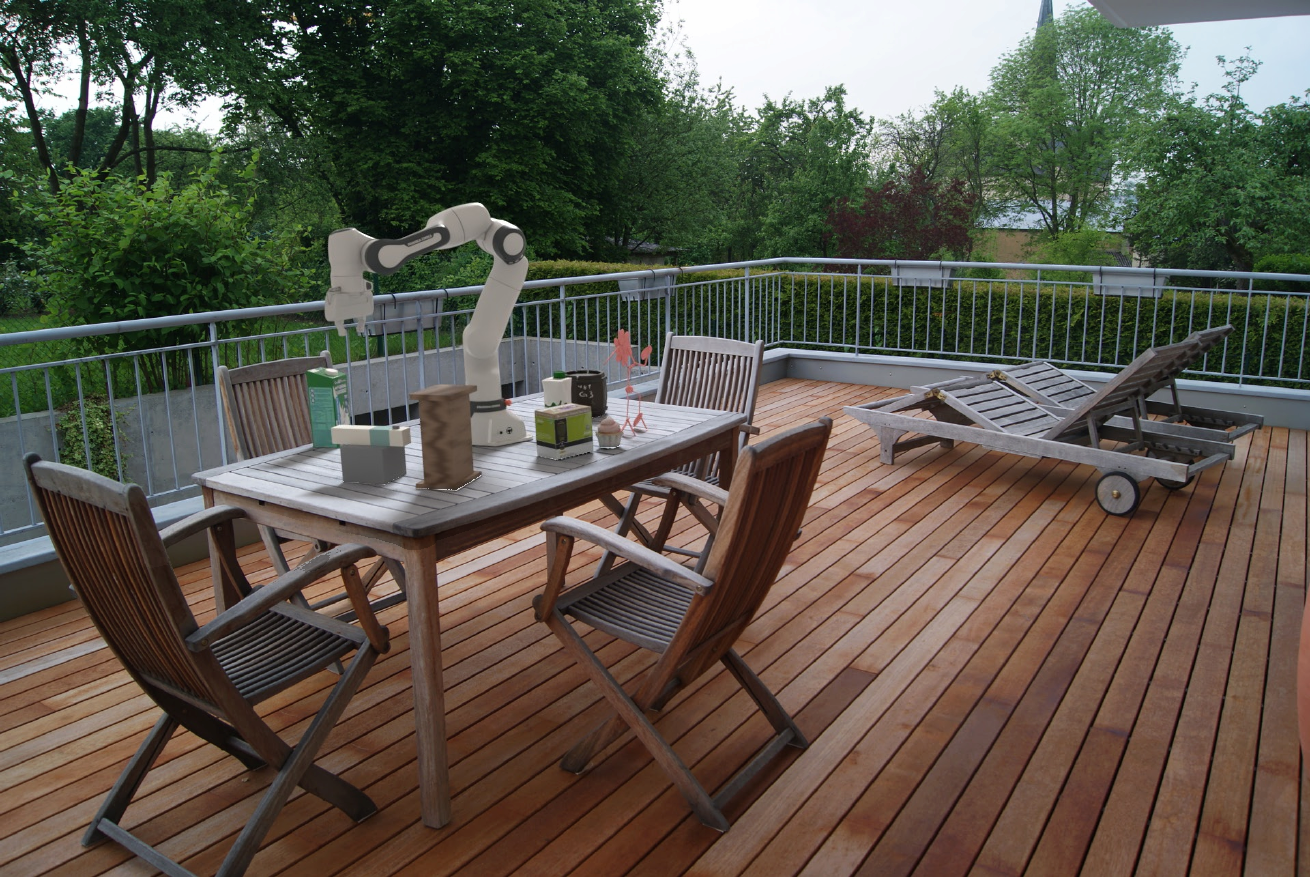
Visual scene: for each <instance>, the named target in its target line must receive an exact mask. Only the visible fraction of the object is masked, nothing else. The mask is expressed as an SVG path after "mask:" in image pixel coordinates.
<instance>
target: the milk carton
mask: <svg viewBox="0 0 1310 877" xmlns="http://www.w3.org/2000/svg"><path fill="white" fill-rule="evenodd" d="M305 374H306V386H307V396H308V405H309V416H310V427H311V437H312V438H311V439H312V447H313V448H333V449H336V448H337V449H340V447H342V446H345V445H347V444H332V435H331V428H332V427H335V426H338V425H352V423H351V422H352V421H351V410H350V398H349V388H348V387H349V386H348V377H347V376H348V375H347V373H344V372H341V371H339V370H338V369H335V368H327V367H324V366H320V367H315V368H312V369H309V370H305Z"/></svg>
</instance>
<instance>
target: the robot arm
mask: <svg viewBox="0 0 1310 877" xmlns="http://www.w3.org/2000/svg"><path fill="white" fill-rule="evenodd" d="M327 240H328V241H327V242H328V243H327V244H328V245H327V246H328V247H327V250H328V251H327V252H328V261H329V264H330V284H331V287H329V288H328V289H327V292H326V295H325V298H324V317H325V320H327V322H334V326H335V327H336V329H337V332H338V333H337V334H338V336H339V337H345V336H347V335H348V333H347V329H345V326H344V324H345V321H346V320H351V319H356V320H357V325H356V328H355V329H356V332H357V333H364V332H365V325H366V322H367V317H368V316H372V315H373V313H374V310H375V309H374V308H375V304H374V303H375V302H374V295H373V292H372V290H373V289H374V285H373V283H372V282H371V281H369V280H367V279H365V278H364V276H363V275H364V274H363V273H364V272H365V271H366V272H368V273H369V272H370V273H373V274H378V275H380V276H391V275H394V274H395V273H397V272H398V271H399V270H400V269H401V268H403V266H404V265H405V264H406V263H407V262H408V261H411V260H413V259H415V258H417V257H420V256H422V255H424V254H427V253H429V252H432V251H436V250H437V251H438V250H445V249H452V248H455V247H458V246H461V245H463V244H466V243H468V242H471V241H473V242H474V244H475V245H476V246H477V248H479V249H481V250H482V251H484V252H486V253H487V254H489V255H491V256H493V265H492V268H491V271H490V273H489V274H488V276H487V279H486V281H485V284H484V286H483V288H482V290H481V293H480V295H479V297H478V301H477V302H476V306H475V309H474V311H473V313H472V317H471V319H470V322H469V323H468V324H467V325H466V326H465V328H464V330H463V332H462V348H463V350H462V351H463V360H464V375H465V376H464V377H465V379H464V380H465V385H477V391H476V392H473V393H471V394H469V398H470V416H471V433H472V446H487V447H488V446H489V447H500V446H504V445H511V444H516V443H520V442H526V441H532V440H533V439H534V436H533V433H531V432H529V431H527V429H526V425H525V422H524V420H523V419H522V418H521V417H520V416H518V415H517V414H516V413H514V412H513V411H511V410H510V409H508V407H511V406H512V404H513V402H512V400H510V399H509V398H507V399H506V398H503V397H502V395H501V391H502V390H501V376H500V375H501V374H500V364H499V363H500V362H499V352H498V351H499V346H500V344H501V342H502V339H503V337H504V335H505V331H506V329H507V326H508V323H509V321H510V317H511V314H512V312H513V309H514V307H515V306H516V305H515V304H516V303H517V300H518V298H519V296H520V293H521V291H522V288H523V286H524V284H525V280H526V277H527V273H528V269H529V261H528V259H527V257H526V256H525V255H526V252H525V251H526V246H527V244H526V243H527V240H526V236H525V234H524V232H523V231H522V230H521V229H520V228H519V227H518V226H517V225H515V224H512V223H510V222H508V221H506V220H503V219H496V218H495V217H491V215H490V213H489V211H488V209H487V207H485V206H484V205H483V204H482V203H479V202H469V203H465V204H464V203H463V204H459V205H456V206H452V207H449V208H446V209H445V210H442V211H440V212H438V213H436V214H434V215H433V216H431V217H429V219H428V220H427V223H426V226H425V227H424V228H423V229H421V230H418V231H416V232H413V233H412V234H409V235H407V236H405V237H402V238H398V239H393V238H392V239H391V238H380V239H379V238H378V239H377V238H375V237H372V236H369V235H367V234H364V233H362V232H361V231H359V230H357V229H356V228H355V227H346V228H345V227H344V228H340V229H336V230H333V231H332V232H330V234H329V236H328V239H327Z"/></svg>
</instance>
